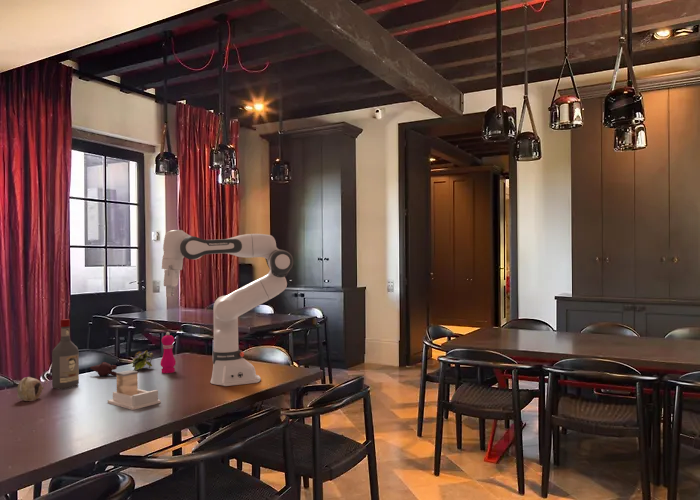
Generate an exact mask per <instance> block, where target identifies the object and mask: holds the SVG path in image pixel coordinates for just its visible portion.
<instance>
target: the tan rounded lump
mask: <svg viewBox="0 0 700 500" xmlns="http://www.w3.org/2000/svg"><path fill="white" fill-rule="evenodd" d="M44 389H45V387H44V386H43V384H42V383H41V381H40V380H39V379H37V378H35V377H31V376H27V377H23V378H22V379H21V380H20V381H19V383H18V385H17V389H16V390H17V398H18V399H20V400H22V401H24V402H28V401H29V402H31V401H36V400H38V399H39V398H40V397H41V394H42V391H43V390H44Z"/></svg>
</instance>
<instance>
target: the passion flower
mask: <svg viewBox="0 0 700 500" xmlns="http://www.w3.org/2000/svg"><path fill="white" fill-rule="evenodd" d="M150 358H151V359H150ZM153 358H154V353H153V352H151V353H149V352H148V349H147V350H145V351H137V352H135V354H134V358H133V359H132V361H131V362H130V363H131V364H132V367H131V368H133V371H138V370H141V369H143V368H145V366H146V365H147V366H148V367H149V369H151V367H153V364H152V360H153ZM149 359H150V361H149Z"/></svg>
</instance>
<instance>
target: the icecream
mask: <svg viewBox="0 0 700 500" xmlns="http://www.w3.org/2000/svg"><path fill="white" fill-rule="evenodd" d="M89 368H90V369H91V370H92V371H95V373H97V375H98V376H99V377H107V376H109V375H111V376H113V377H117V375H116V373H117V372H116V371H115V370H117V369H118V366H117V365H116V364H112V365H111V364H110V363H108V362H106V361H104V362H101V363H99V364H97V365H92V366H90V367H89Z"/></svg>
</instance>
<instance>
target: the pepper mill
mask: <svg viewBox="0 0 700 500" xmlns="http://www.w3.org/2000/svg"><path fill="white" fill-rule="evenodd" d="M170 334H171V333H170V332H169V331H167V332H166V333H165V335H163V336H162V338H161V343H162V349H163V354H162V358H161V360H160V367H161V373H162V374H172V373H175V372H176V371H175V370H176V368H175V365H176V358H175V356H174V353H173V348H174V342H175V338H174V336H173V335H172V334H171V335H170Z"/></svg>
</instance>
